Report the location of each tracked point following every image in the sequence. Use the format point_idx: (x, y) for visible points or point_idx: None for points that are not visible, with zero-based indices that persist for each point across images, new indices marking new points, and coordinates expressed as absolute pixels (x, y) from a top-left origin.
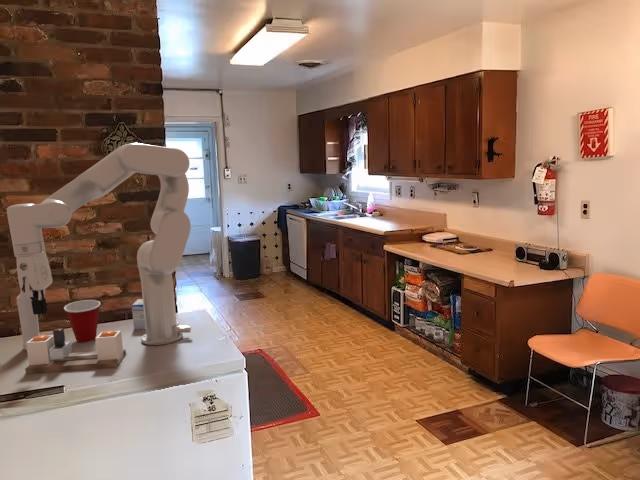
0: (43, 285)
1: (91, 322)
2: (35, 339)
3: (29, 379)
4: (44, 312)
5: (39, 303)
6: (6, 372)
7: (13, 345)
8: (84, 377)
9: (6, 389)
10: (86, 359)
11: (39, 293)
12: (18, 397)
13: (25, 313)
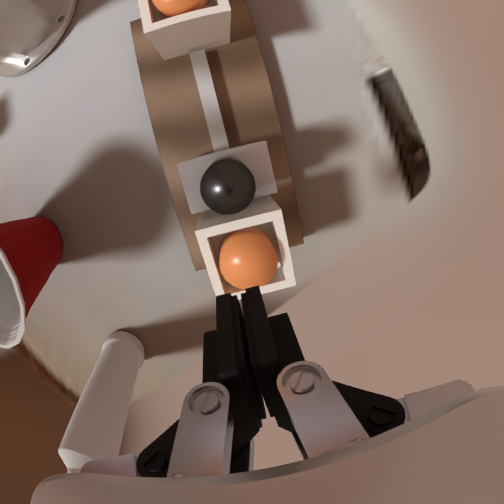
0: (390, 487)
1: (11, 226)
2: (276, 264)
3: (337, 199)
4: (259, 290)
5: (300, 351)
6: (289, 297)
7: None
8: (318, 47)
9: (389, 217)
10: (222, 84)
11: (336, 421)
12: (425, 158)
13: (115, 422)
